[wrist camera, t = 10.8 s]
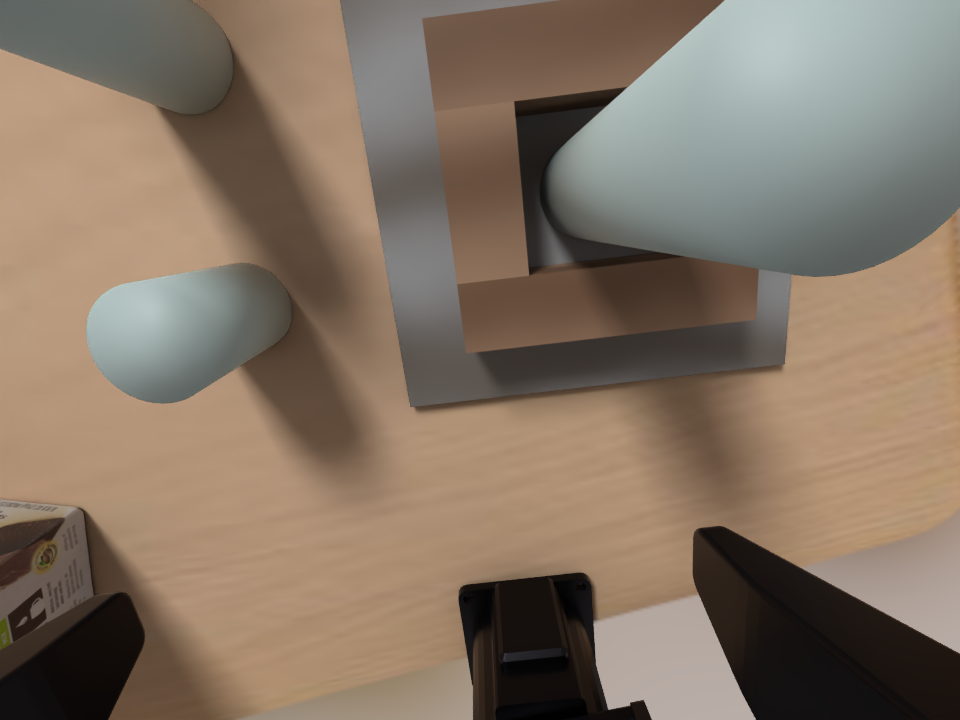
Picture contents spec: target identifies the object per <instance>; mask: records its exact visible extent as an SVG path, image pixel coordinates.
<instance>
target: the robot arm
mask: <svg viewBox="0 0 960 720" xmlns="http://www.w3.org/2000/svg"><path fill="white" fill-rule="evenodd" d="M693 578H694V583H695V586H696V589H697V591H698V593H699V596H700V598H701V600H702V602H703V605H704V607H705V610H706V612H707V614H708V616H709V619H710V621H711V623H712V626H713V628H714V630H715V633H716V635H717V637H718V639H719V642H720V644H721V647H722V649H723V651H724V653H725V656H726V658H727V660H728V663H729V665H730V667H731V670H732V672H733V674H734V676H735V679H736V681H737V683H738V685H739V687H740V690H741V692H742V694H743V696H744V698H745V700H746V701H747V703H748V705H749V707H750V709H751V711H752V713H753V714H754V717H755V718H756V720H960V654H959V653H958V652H956V651H954V650H952V649H950V648H948V647H946V646H945V645H943V644H941V643H939V642H937V641H935V640H933V639H932V638H930V637H928V636H926V635H924V634H922V633H921V632H919V631H917V630H915V629H913V628H911V627H909V626H908V625H906V624H904V623H902V622H900V621H898V620H896V619H895V618H892V617H891V616H889V615H887V614H885V613H883V612H881V611H879V610H877V609H876V608H874V607H872V606H870V605H869V604H867V603H865V602H863V601H861V600H859V599H857V598H856V597H853V596H852V595H850V594H848V593H846V592H844V591H843V590H841V589H839V588H837V587H835V586H833V585H831V584H829V583H828V582H826V581H824V580H822V579H820V578H818V577H817V576H815V575H813V574H811V573H809V572H807V571H805V570H804V569H802V568H800V567H798V566H796V565H794V564H792V563H791V562H789V561H787V560H785V559H783V558H781V557H779V556H778V555H776V554H774V553H772V552H770V551H768V550H766V549H765V548H763V547H761V546H759V545H757V544H755V543H753V542H752V541H750V540H748V539H746V538H744V537H742V536H740V535H739V534H737V533H735V532H733V531H731V530H729V529H727V528H725V527H722V526H714V527H705V528H698V529H697V530H696V531H695V532H694V536H693ZM578 583H583V584H582V585H577V584H578ZM466 595H471V597H466ZM459 606H460V612H461V618H462V625H463V631H464V637H465V643H466V649H467V655H468V662H469V667H470V674H471V680H472V685H473V720H652V719H651V717H650V714H649V712H648V710H647V707H646V705H645V702H644V700H641V701H636V702H631V703H630V706H626V707H621V708H616V709H611V710H608V708H607V704H606V700H605V696H604V693H603V689H602V685H601V682H600V678H599V674H598V671H597V667H596V659H595V643H594V626H593V609H592V592H591V584H590V581H589V578H588V576H587V575H586V574H584V573H572V574H562V575H553V576H544V577H534V578H525V579H516V580H506V581H497V582H487V583H478V584H469V585H464V586H463V587H461V588H460V590H459ZM144 641H145V630H144V627H143V625H142V622H141V620H140V618H139V615H138V613H137V610H136V608H135V606H134V603H133V601H132V598H131V597H130V595H128V594H127V593H126V592H121V591H119V592H110V593H102V594H97V595H95V596H93V597H91V598H89V599H87V600H85V601H84V602H82V603H80V604H78V605H77V606H75V607H73V608H72V609H70V610H68V611H66V612H65V613H63V614H61V615H59V616H58V617H56V618H54V619H53V620H51V621H49V622H47V623H46V624H44V625H42V626H40V627H39V628H37V629H35V630H34V631H32V632H30V633H28V634H27V635H25V636H23V637H21V638H20V639H18V640H16V641H15V642H13V643H11V644H9V645H8V646H6V647H4V648H2V649H1V650H0V720H108V719H109V717H110V715H111V713H112V711H113V709H114V706H115V704H116V702H117V700H118V698H119V696H120V694H121V692H122V690H123V688H124V686H125V684H126V682H127V679H128V677H129V675H130V673H131V671H132V669H133V667H134V665H135V663H136V661H137V659H138V657H139V655H140V652H141V650H142V648H143V645H144Z"/></svg>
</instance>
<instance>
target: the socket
mask: <svg viewBox="0 0 960 720" xmlns="http://www.w3.org/2000/svg"><path fill="white" fill-rule="evenodd" d="M724 1H725V0H340V3H341V9H342V15H343V21H344V26H345V32H346V38H347V44H348V49H349V55H350V61H351V67H352V73H353V78H354V84H355V90H356V96H357V101H358V107H359V113H360V119H361V125H362V130H363V136H364V142H365V148H366V153H367V159H368V165H369V171H370V177H371V182H372V188H373V194H374V200H375V205H376V211H377V217H378V223H379V228H380V234H381V240H382V246H383V252H384V257H385V263H386V269H387V275H388V280H389V286H390V292H391V298H392V304H393V309H394V315H395V321H396V327H397V332H398V338H399V344H400V350H401V356H402V361H403V367H404V373H405V379H406V384H407V390H408V396H409V402H410V407H417V406H425V405H434V404H443V403H451V402H460V401H469V400H478V399H486V398H495V397H504V396H512V395H521V394H530V393H538V392H547V391H556V390H565V389H573V388H582V387H591V386H599V385H608V384H617V383H625V382H634V381H643V380H652V379H660V378H669V377H678V376H686V375H695V374H704V373H713V372H721V371H730V370H739V369H747V368H756V367H765V366H773V365H782V364H785V352H786V339H787V326H788V313H789V299H790V286H791V274H786V273H780V272H774V271H768V270H763V269H757V268H751V267H745V266H739V265H733V264H727V263H721V262H715V261H709V260H703V259H697V258H691V257H685V256H679V255H673V254H668V253H662V252H656V251H650V250H644V249H638V248H632V247H626V246H620V245H614V244H608V243H602V242H596V241H590V240H584V239H578V238H574V237H570V236H567V235H565V234H563V233H561V232H560V231H558V230H557V229H556V228H555V227H554V226H553V225H552V224H551V223H550V222H549V221H548V219H547V218H546V216H545V214H544V212H543V210H542V207H541V203H540V197H539V186H540V180H541V175H542V173H543V170H544V168H545V166H546V164H547V162H548V161H549V159H550V158H551V157H552V155H553V154H554V153H555V152H556V151H557V150H558V149H559V148H561V147H562V146H563V145H564V144H565V143H566V142H567V141H568V140H570V139H571V138H572V137H573V136H574V135H575V134H576V133H577V132H578V131H580V130H581V129H582V128H583V127H584V126H585V125H586V124H587V123H588V122H590V121H591V120H592V119H593V118H594V117H595V116H596V115H597V114H599V113H600V112H601V111H602V110H603V109H604V108H605V107H606V106H607V105H609V104H610V103H611V102H612V101H613V100H614V99H615V98H616V97H618V96H619V95H620V94H621V93H622V92H623V91H624V90H625V89H626V88H628V87H629V86H630V85H631V84H632V83H633V82H634V81H635V80H636V79H638V78H639V77H640V76H641V75H642V74H643V73H644V72H645V71H647V70H648V69H649V68H650V67H651V66H652V65H653V64H654V63H655V62H657V61H658V60H659V59H660V58H661V57H662V56H663V55H664V54H666V53H667V52H668V51H669V50H670V49H671V48H672V47H673V46H674V45H676V44H677V43H678V42H679V41H680V40H681V39H682V38H683V37H684V36H686V35H687V34H688V33H689V32H690V31H691V30H692V29H693V28H695V27H696V26H697V25H698V24H699V23H700V22H701V21H702V20H703V19H705V18H706V17H707V16H708V15H709V14H710V13H711V12H712V11H713V10H715V9H716V8H717V7H718V6H719V5H720V4H721V3H722V2H724Z"/></svg>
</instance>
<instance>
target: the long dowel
mask: <svg viewBox="0 0 960 720" xmlns="http://www.w3.org/2000/svg"><path fill="white" fill-rule="evenodd" d="M539 197H540V203H541V207H542V210H543V212H544V214H545V216H546V218H547V219H548V221H549V222H550V223H551V224H552V225H553V226H554V227H555V228H556V229H557V230H558V231H560V232H561V233H563V234H565V235H567V236H570V237H574V238H578V239H584V240H590V241H596V242H602V243H608V244H614V245H620V246H626V247H632V248H638V249H644V250H650V251H656V252H662V253H668V254H673V255H679V256H685V257H691V258H697V259H703V260H709V261H715V262H721V263H727V264H733V265H739V266H745V267H751V268H757V269H763V270H768V271H774V272H780V273H786V274H792V275H800V276H812V277H820V276H836V275H842V274H848V273H853V272H857V271H860V270H864V269H867V268H870V267H874V266H876V265H878V264H881V263H883V262H885V261H888V260H890V259H892V258H894V257H896V256H898V255H900V254H902V253H903V252H905V251H907V250H909V249H910V248H912V247H914V246H915V245H917V244H918V243H919V242H921V241H922V240H924V239H925V238H926V237H928V236H929V235H931V234H932V233H933V232H934V231H935V230H937V229H938V228H939V227H940V226H941V225H942V224H943V223H945V222H946V221H947V220H948V219H949V218H950V217H951V216H952V215H953V214H954V213H955V212H956V211H957V210H958V209H959V207H960V0H725V1H724V2H722V3H721V4H720V5H719V6H718V7H717V8H716V9H715V10H713V11H712V12H711V13H710V14H709V15H708V16H707V17H706V18H705V19H703V20H702V21H701V22H700V23H699V24H698V25H697V26H696V27H695V28H693V29H692V30H691V31H690V32H689V33H688V34H687V35H686V36H684V37H683V38H682V39H681V40H680V41H679V42H678V43H677V44H676V45H674V46H673V47H672V48H671V49H670V50H669V51H668V52H667V53H666V54H664V55H663V56H662V57H661V58H660V59H659V60H658V61H657V62H655V63H654V64H653V65H652V66H651V67H650V68H649V69H648V70H647V71H645V72H644V73H643V74H642V75H641V76H640V77H639V78H638V79H636V80H635V81H634V82H633V83H632V84H631V85H630V86H629V87H628V88H626V89H625V90H624V91H623V92H622V93H621V94H620V95H619V96H618V97H616V98H615V99H614V100H613V101H612V102H611V103H610V104H609V105H607V106H606V107H605V108H604V109H603V110H602V111H601V112H600V113H599V114H597V115H596V116H595V117H594V118H593V119H592V120H591V121H590V122H588V123H587V124H586V125H585V126H584V127H583V128H582V129H581V130H580V131H578V132H577V133H576V134H575V135H574V136H573V137H572V138H571V139H570V140H568V141H567V142H566V143H565V144H564V145H563V146H562V147H561V148H559V149H558V150H557V151H556V152H555V153H554V154H553V155H552V157H551V158H550V159H549V161H548V162H547V164H546V166H545V168H544V170H543V173H542V175H541V180H540V186H539Z"/></svg>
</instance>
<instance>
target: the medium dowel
mask: <svg viewBox="0 0 960 720" xmlns="http://www.w3.org/2000/svg"><path fill="white" fill-rule="evenodd" d="M0 49H2V50H5V51H8V52H10V53H13V54H16V55H19V56H22V57H24V58H27V59H30V60H33V61H35V62H38V63H41V64H44V65H46V66H49V67H52V68H55V69H58V70H60V71H63V72H66V73H69V74H71V75H74V76H77V77H80V78H82V79H85V80H88V81H91V82H93V83H96V84H99V85H102V86H105V87H107V88H110V89H113V90H116V91H118V92H121V93H124V94H127V95H129V96H132V97H135V98H138V99H141V100H143V101H146V102H149V103H152V104H154V105H157V106H160V107H163V108H165V109H168V110H171V111H174V112H176V113H181V114H187V115H195V114H201V113H204V112H207V111H209V110H211V109H213V108H214V107H216V106H217V105H218V104H219V103H220V102H221V101H222V100H223V99H224V97H225V96H226V94H227V92H228V90H229V88H230V85H231V82H232V77H233V57H232V52H231V48H230V45H229V42H228V40H227V38H226V36H225V34H224V32H223V30H222V29H221V27H220V26H219V24H218V23H217V22H216V21H215V20H214V19H213V17H212V16H210V15H209V14H208V13H207V12H206V11H205V10H203V9H202V8H201V7H200V6H198V5H197V4H196V3H194V2H193V1H192V0H0Z"/></svg>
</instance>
